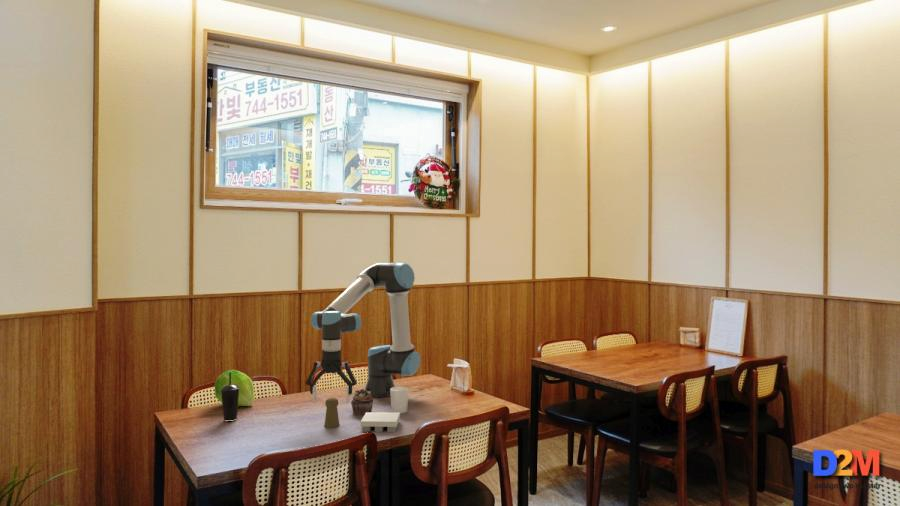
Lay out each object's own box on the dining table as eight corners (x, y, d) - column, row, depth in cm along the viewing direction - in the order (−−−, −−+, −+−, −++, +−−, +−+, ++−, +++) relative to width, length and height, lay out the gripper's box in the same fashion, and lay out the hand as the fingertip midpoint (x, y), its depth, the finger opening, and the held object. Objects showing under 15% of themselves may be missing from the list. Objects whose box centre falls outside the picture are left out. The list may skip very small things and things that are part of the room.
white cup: (405, 414, 247) (405, 391, 246) (388, 413, 248) (387, 390, 248) (410, 409, 254) (410, 386, 254) (393, 408, 256) (393, 386, 256)
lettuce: (231, 416, 249) (254, 386, 252) (198, 389, 254) (221, 360, 257) (248, 418, 265) (270, 389, 268) (217, 392, 271) (239, 365, 274)
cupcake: (377, 411, 252) (377, 388, 252) (365, 417, 243) (365, 393, 243) (359, 408, 256) (359, 386, 256) (346, 414, 247) (346, 391, 247)
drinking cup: (244, 418, 242) (243, 371, 241) (231, 424, 234) (231, 375, 234) (229, 416, 244) (228, 369, 244) (216, 422, 237) (216, 373, 237)
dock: (366, 421, 237) (366, 412, 237) (400, 422, 236) (399, 412, 236) (360, 431, 225) (360, 421, 225) (396, 431, 224) (396, 421, 224)
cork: (325, 423, 235) (325, 396, 235) (340, 423, 235) (340, 396, 235) (323, 428, 229) (323, 400, 229) (338, 427, 229) (338, 400, 229)
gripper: (298, 351, 228) (297, 404, 228) (360, 351, 227) (360, 405, 227) (303, 347, 236) (303, 399, 236) (363, 348, 235) (363, 400, 235)
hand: (331, 402), depth 231 cm, fingers open, 13 cm apart
